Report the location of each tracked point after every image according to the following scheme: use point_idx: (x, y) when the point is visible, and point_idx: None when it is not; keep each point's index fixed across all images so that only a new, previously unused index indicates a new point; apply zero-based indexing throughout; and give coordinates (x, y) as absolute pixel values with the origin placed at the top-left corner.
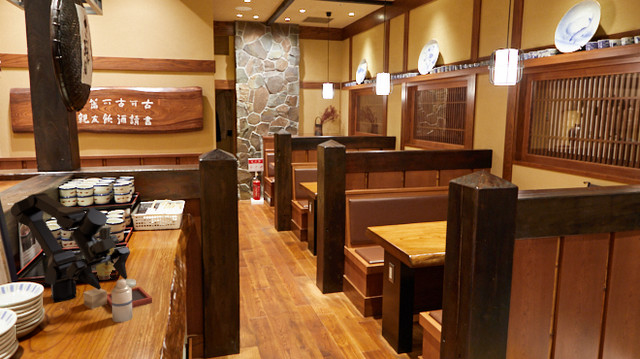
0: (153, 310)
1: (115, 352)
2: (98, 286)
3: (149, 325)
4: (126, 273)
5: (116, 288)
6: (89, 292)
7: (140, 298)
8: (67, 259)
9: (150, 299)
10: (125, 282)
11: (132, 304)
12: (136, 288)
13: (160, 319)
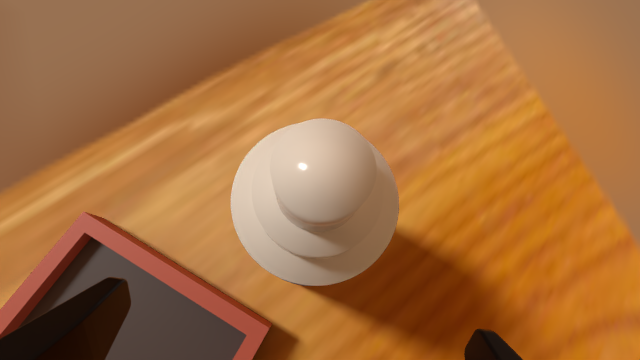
0: (186, 153)
1: (515, 70)
2: (513, 350)
3: (317, 83)
4: (51, 310)
5: (363, 209)
6: None
7: None
8: None
9: (95, 217)
10: (307, 128)
11: (183, 273)
12: None
13: (256, 74)
